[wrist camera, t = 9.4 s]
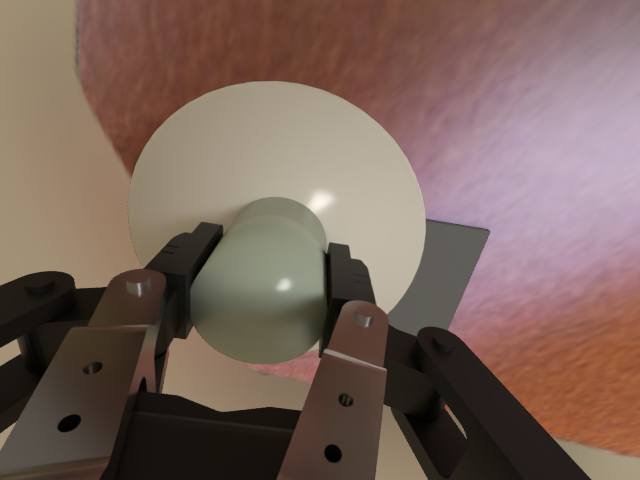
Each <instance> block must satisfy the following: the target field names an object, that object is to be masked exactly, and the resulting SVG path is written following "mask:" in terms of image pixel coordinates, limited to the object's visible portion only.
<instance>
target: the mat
mask: <svg viewBox="0 0 640 480" xmlns="http://www.w3.org/2000/svg"><path fill="white" fill-rule="evenodd" d="M489 234H490V231H489V230H488V229H483V228H477V227H471V226H465V225H459V224H453V223H447V222H441V221H435V220H429V219H426V234H425V242H424V250H423V253H422V257H421V260H420V264H419V267H418V269H417V272H416V274H415V276H414V278H413V281H412V282H411V284H410V286H409V287H408V289H407V291H406V292H405V294H404V295H403V297H402V298H401V299H400V301H399V302H398V303H397V304H396V306H395V307H394V308H393V309H392V310H391V311H390V312H389V313H388V314H387V316H388V319H389V325H391V326H393V327H394V328H396V329H398V330H401V331H403V332H406V333H409V334H411V335H414V336H417V334H418V332H419V330H420V329H422V328H424V327H429V326H432V327H439V328H442V329H445V330H448V328H449V325H450V323H451V321H452V319H453V316H454V314H455V312H456V309H457V307H458V305H459V303H460V300H461V298H462V296H463V294H464V291H465V289H466V287H467V284H468V282H469V280H470V278H471V275H472V273H473V271H474V268H475V266H476V264H477V262H478V259H479V257H480V255H481V252H482V250H483V248H484V246H485V243H486V241H487V239H488V236H489Z"/></svg>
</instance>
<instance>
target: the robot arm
mask: <svg viewBox="0 0 640 480" xmlns="http://www.w3.org/2000/svg"><path fill="white" fill-rule="evenodd" d="M222 237H223V225H220V224H214V223H208V222H201V223H200V224H199V225H198V226H197V227H196V228H195V230H194V231H193V232H192V233H187V232H184V233H181V234H179V235H177V236H175V237H173V238H172V239H171V240H170V241H169V242H168V243H167V244H166V246H164V247H163V248H162V249H161V250H160V252H158V254H157V255H156V256H155V257H154V258H153V259H152V260H151V261H150V262H149V263H148V264H147V265H146V266H145V267H144V268H143V269H135V270H130V271H126V272H123V273H121V274H119V275H117V276H115V277H114V278H113V279H112V280H111V281H110V283H109V284H108V286H107V287H102V288H81V289H76V287H75V282H74V278H73V277H72V276H71V275H69V274H67V273H64V272H57V271H46V272H38V273H33V274H29V275H26V276H23V277H20V278H18V279H15V280H13V281H11V282H8V283H6V284H3V285H1V286H0V347H2V346H4V345H6V344H8V343H10V342H11V341H13V340H15V339H17V341H18V344H19V347H20V351H21V354H20V355H18V356H16V357H15V358H13V359H11V360H10V361H8V362H6V363H5V364H3V365H1V366H0V433H1V432H3V431H4V430H5V429H7V428H8V427H9V426H11V425H12V424H13V423H15V422H16V421H17V420H18V421H17V422H16V424H15V426H14V428H13V429H12V431H11V433H10V435H9V436H8V438H7V440H6V442H5V443H4V445H3V447H2V448H1V450H0V480H375V474H376V465H377V456H378V448H379V438H380V429H381V421H382V412H383V404H385V405H387V406H389V407H391V411H392V414H393V416H394V418H395V420H396V421H397V423H398V425H399V427H400V429H401V430H402V432H403V434H404V436H405V438H406V439H407V442H408V443H409V445H410V447H411V449H412V451H413V453H414V454H415V456H416V458H417V460H418V462H419V464H420V465H421V467H422V469H423V471H424V473H425V475H426V476H427V478H428V480H591V479H590V478H589V477H588V476H587V475H586V473H585V472H584V471H583V470H582V469H581V468H580V467H579V466H578V465H577V464H576V463H575V462H574V461H573V460H572V459H571V457H570V456H569V455H568V454H567V453H566V452H565V451H564V450H563V449H562V448H561V447H560V445H559V444H558V443H557V442H556V441H555V440H554V439H553V438H552V437H551V436H550V435H549V434H548V433H547V431H546V430H545V429H544V428H543V427H542V426H541V425H540V424H539V423H538V422H537V421H536V420H535V419H534V417H533V416H532V415H531V414H530V413H529V412H528V411H527V410H526V409H525V408H524V407H523V406H522V405H521V403H520V402H519V401H518V400H517V399H516V398H515V397H514V396H513V395H512V394H511V393H510V392H509V391H508V389H507V388H506V387H505V386H504V385H503V384H502V383H501V382H500V381H499V380H498V379H497V378H496V377H495V375H494V374H493V373H492V372H491V371H490V370H489V369H488V368H487V367H486V366H485V365H484V364H483V363H482V361H481V360H480V359H479V358H478V357H477V356H476V355H475V354H474V353H473V352H472V351H471V350H470V349H469V347H468V346H467V345H466V344H465V343H464V342H463V341H462V340H461V339H460V338H459V337H457V336H456V335H454V334H453V333H451V332H449V331H447V330H445V329H442V328H439V327H432V326H429V327H424V328H422V329H420V330H419V332H418V334H417V336H414V335H411V334H409V333H406V332H403V331H401V330H398V329H396V328H394V327H393V326H391V325H389V319H388V316H387V314H386V313H385V312H384V311H383V310H382V309H381V308H380V307H378V306H377V304H376V300H375V296H374V292H373V288H372V285H371V279H370V275H369V271H368V267H367V266H366V265H365V264H364V263H363V262H362V261H361V260H359V259H353V258H351V255H350V249H349V245H345V244H339V243H332V242H330V243H329V246H328V250H327V303H328V311H327V315H326V320H325V324H324V329H323V333H322V336H321V337H320V339H319V358H321V360H320V363H319V366H318V369H317V371H316V374H315V377H314V379H313V382H312V385H311V388H310V390H309V393H308V396H307V398H306V401H305V404H304V407H303V409H302V411H299V410H291V409H283V408H275V407H265V408H256V409H247V410H238V411H230V412H220V411H216V410H214V409H211V408H208V407H206V406H203V405H201V404H198V403H196V402H193V401H191V400H188V399H186V398H183V397H181V396H177V395H169V394H162V389H163V384H164V378H165V373H166V368H167V363H168V357H169V345H170V343H171V342H172V340H173V338H180V339H186V338H187V337H188V335H189V332H190V331H191V329H192V327H193V323H192V321H191V318H190V289H191V286H192V284H193V282H194V280H195V279H196V277H197V276H198V274H199V272H200V271H201V269H202V268H203V266H204V265H205V263H206V261H207V260H208V258H209V257H210V255H211V254H212V252H213V251H214V249H215V247H216V246H217V244H218V243H219V241H220V240H221V238H222ZM446 404H447V406H448V407H449V408H450V410H451V411H452V413H453V414H454V415H455V417H456V418H457V419H458V421H459V422H460V424H461V425H462V427H463V428H464V431H465V433H466V437H467V439H466V438H465V436H464V435H463V433H462V432H461V431H460V429H459V428H458V426H457V425H456V423H455V422H454V421H453V419H452V418H451V416H450V415H449V413H448V412H447V411H446V409H445V408H444V407H445V405H446Z"/></svg>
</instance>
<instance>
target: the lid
mask: <svg viewBox="0 0 640 480" xmlns="http://www.w3.org/2000/svg"><path fill="white" fill-rule="evenodd" d="M128 222H129V228H130V235H131V239H132V243H133V245H134V249H135V252H136V255H137V257H138V259H139V262H140V264H141V266H142V268H144V267H145V266H146V265H147V264H148V263H149V262H150V261H151V260H152V259H153V258H154V257H155V256H156V255H157V254H158V252H160V250H161V249H162V248H163V247H164V246H166V244H167V243H168V242H169V241H170V240H171V239H172V238H173V237H175V236H177V235H179V234H181V233H184V232H187V233H192V232H193V231H194V230H195V228H196V227H197V226H198V225H199V224H200V223H201V222H208V223H214V224H220V225H223V237H222V238H221V240H220V241H219V243H218V244H217V246H216V247H215V249H214V251H213V252H212V254H211V255H210V257H209V258H208V260H207V261H206V263H205V265H204V266H203V268H202V269H201V271H200V272H199V274H198V276H197V277H196V279H195V280H194V282H193V284H192V286H191V289H190V318H191V321H192V323H193V325H194V327H195V329H196V330H197V332H198V333H199V334H200V336H201V337H202V338H203V339H204V340H205V341H206V342H207V343H208V344H209V345H210V346H211V347H213V348H214V349H215V350H217V351H219V352H220V353H222V354H224V355H226V356H228V357H230V358H233V359H235V360H239V361H242V362H247V363H252V364H276V363H281V362H286V361H289V360H292V359H294V358H297V357H299V356H301V355H302V354H304V353H306V352H307V351H313V350H318V349H319V339H320V337H321V336H322V333H323V329H324V324H325V320H326V315H327V311H328V303H327V250H328V246H329V243H330V242H332V243H339V244H345V245H349V249H350V255H351V258H353V259H359V260H361V261H362V262H363V263H364V264H365V265H366V266H367V267H368V271H369V275H370V279H371V285H372V288H373V292H374V296H375V300H376V304H377V306H378V307H380V308H381V309H382V310H383V311H384V312H385V313H386V314H388V313H389V312H390V311H391V310H392V309H393V308H394V307H395V306H396V304H397V303H398V302H399V301H400V299H401V298H402V297H403V295H404V294H405V292H406V291H407V289H408V287H409V286H410V284H411V282H412V281H413V278H414V276H415V274H416V272H417V269H418V267H419V264H420V260H421V257H422V253H423V250H424V242H425V234H426V218H425V208H424V202H423V196H422V193H421V190H420V187H419V183H418V180H417V177H416V175H415V173H414V171H413V169H412V167H411V165H410V163H409V161H408V159H407V157H406V156H405V154H404V153H403V152H402V150H401V149H400V147H399V146H398V144H397V143H396V141H395V140H394V139H393V138H392V137H391V136H390V135H389V134H388V133H387V132H386V131H385V130H384V128H383V127H382V126H381V125H380V124H378V123H377V122H376V121H375V120H373V119H372V118H371V117H370V116H369V115H367V114H366V113H365V112H364V111H362V110H361V109H360V108H358V107H357V106H355V105H353V104H352V103H350V102H348V101H347V100H345V99H343V98H342V97H339V96H337V95H335V94H332V93H330V92H328V91H325V90H323V89H320V88H316V87H312V86H309V85H305V84H301V83H293V82H284V81H260V82H247V83H242V84H236V85H231V86H227V87H224V88H221V89H218V90H215V91H212V92H209V93H206V94H204V95H202V96H200V97H199V98H197V99H195V100H193V101H191V102H189V103H187V104H186V105H184V106H183V107H182V108H180V109H179V110H178V111H176V112H175V113H174V114H172V115H171V116H170V117H169V118H168V119H167V120H166V121H165V122H164V123H163V124H162V125H161V126H160V127H159V128H158V129H157V130H156V131H155V133H154V134H153V135H152V137H151V138H150V140H149V141H148V143H147V144H146V145H145V147H144V149H143V151H142V153H141V155H140V157H139V159H138V161H137V163H136V166H135V169H134V172H133V176H132V179H131V182H130V190H129V196H128Z"/></svg>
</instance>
